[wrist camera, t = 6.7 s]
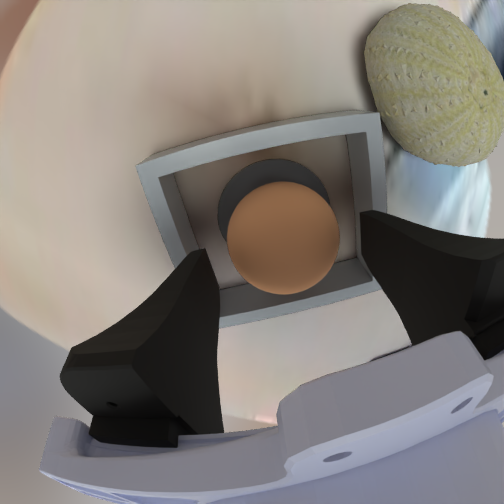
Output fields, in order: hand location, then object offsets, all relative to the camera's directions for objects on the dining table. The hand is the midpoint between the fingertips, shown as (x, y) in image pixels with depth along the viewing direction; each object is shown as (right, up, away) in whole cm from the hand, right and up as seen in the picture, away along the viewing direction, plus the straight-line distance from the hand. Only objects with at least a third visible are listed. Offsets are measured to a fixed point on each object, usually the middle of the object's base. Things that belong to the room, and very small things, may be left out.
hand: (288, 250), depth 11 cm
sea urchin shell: (+8, +10, 0) cm, 13 cm away
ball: (0, +2, +3) cm, 4 cm away
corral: (0, +2, +3) cm, 4 cm away
